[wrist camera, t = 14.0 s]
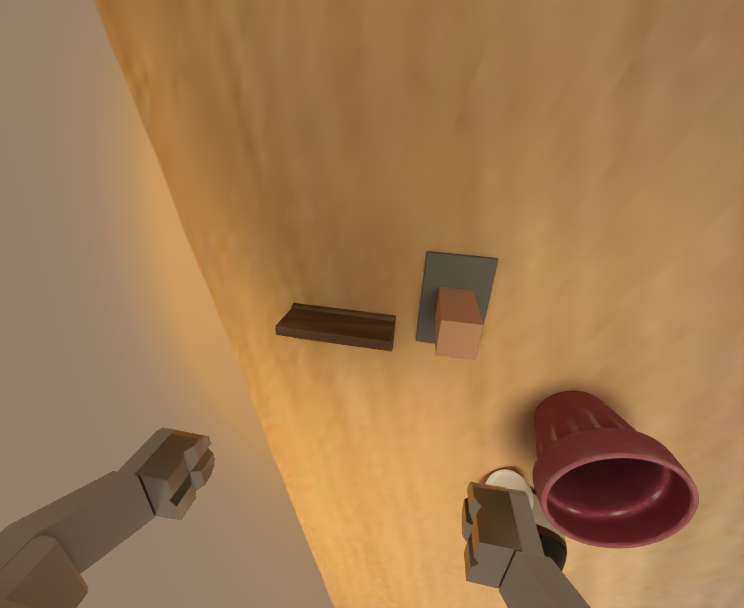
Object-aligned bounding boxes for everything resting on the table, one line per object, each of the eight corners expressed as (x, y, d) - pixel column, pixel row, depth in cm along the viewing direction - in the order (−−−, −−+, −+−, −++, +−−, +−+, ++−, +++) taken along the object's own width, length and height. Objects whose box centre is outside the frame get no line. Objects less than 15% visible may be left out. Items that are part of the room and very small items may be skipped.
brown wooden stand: (294, 303, 45) (275, 323, 40) (395, 315, 43) (390, 338, 38) (295, 334, 47) (277, 358, 42) (392, 348, 45) (387, 374, 40)
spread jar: (517, 527, 55) (536, 614, 45) (459, 497, 55) (465, 578, 44) (567, 489, 50) (602, 577, 40) (504, 455, 50) (523, 536, 39)
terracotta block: (439, 286, 40) (441, 320, 32) (473, 290, 39) (483, 325, 31) (435, 316, 42) (435, 354, 33) (467, 320, 41) (475, 360, 33)
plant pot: (644, 378, 41) (727, 465, 29) (614, 460, 47) (674, 559, 35) (522, 370, 43) (554, 447, 32) (508, 449, 49) (531, 539, 37)
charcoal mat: (427, 251, 39) (427, 252, 38) (497, 258, 38) (498, 259, 37) (416, 338, 44) (416, 340, 43) (477, 346, 43) (478, 349, 42)
